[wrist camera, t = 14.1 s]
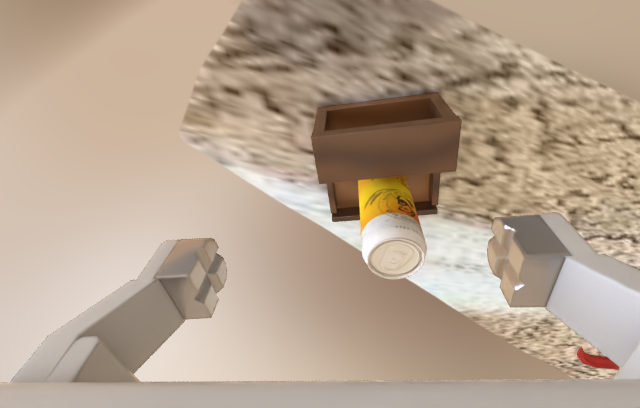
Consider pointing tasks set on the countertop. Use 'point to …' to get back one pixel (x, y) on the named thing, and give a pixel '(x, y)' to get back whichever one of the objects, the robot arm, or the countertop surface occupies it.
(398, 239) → the beer can
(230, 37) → the countertop surface
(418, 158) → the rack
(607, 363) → the cayenne pepper
